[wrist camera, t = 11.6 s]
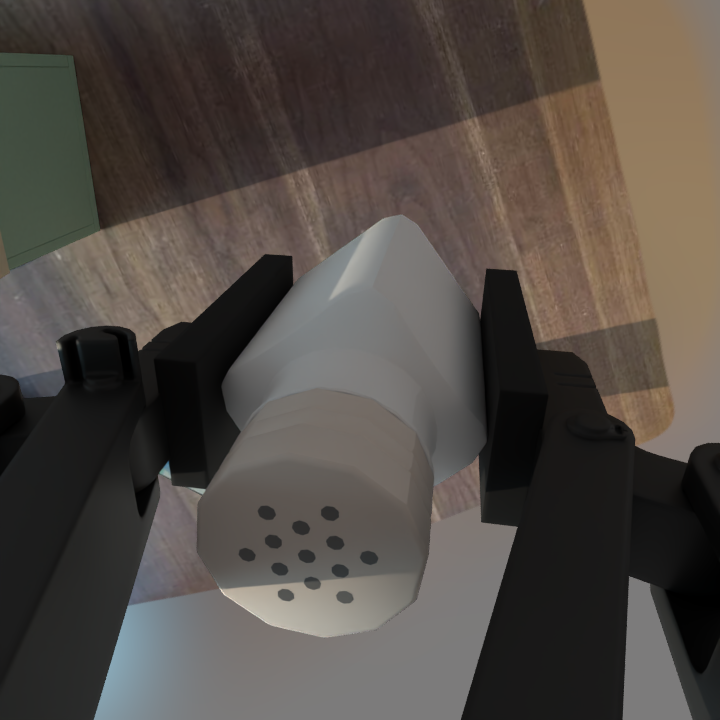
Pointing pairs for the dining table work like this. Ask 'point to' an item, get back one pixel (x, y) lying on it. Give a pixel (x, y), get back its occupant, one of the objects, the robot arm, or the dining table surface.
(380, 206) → the dining table surface
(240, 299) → the robot arm
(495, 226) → the dining table surface
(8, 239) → the case
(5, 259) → the cover
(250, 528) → the pepper shaker
